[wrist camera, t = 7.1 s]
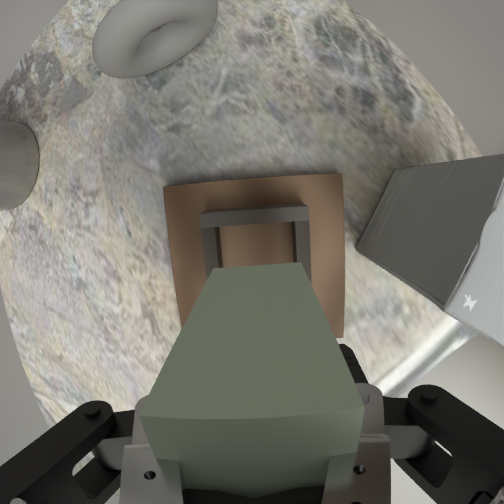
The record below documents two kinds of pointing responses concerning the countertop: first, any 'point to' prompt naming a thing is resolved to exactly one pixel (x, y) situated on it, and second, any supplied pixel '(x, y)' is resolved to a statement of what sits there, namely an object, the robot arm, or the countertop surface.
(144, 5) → the donut
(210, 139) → the countertop surface
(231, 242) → the keyed socket board
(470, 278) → the skincare box
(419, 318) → the countertop surface
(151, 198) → the countertop surface
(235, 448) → the keyed peg
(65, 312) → the countertop surface
